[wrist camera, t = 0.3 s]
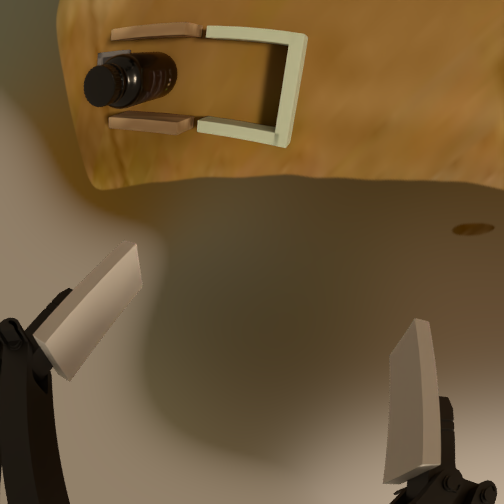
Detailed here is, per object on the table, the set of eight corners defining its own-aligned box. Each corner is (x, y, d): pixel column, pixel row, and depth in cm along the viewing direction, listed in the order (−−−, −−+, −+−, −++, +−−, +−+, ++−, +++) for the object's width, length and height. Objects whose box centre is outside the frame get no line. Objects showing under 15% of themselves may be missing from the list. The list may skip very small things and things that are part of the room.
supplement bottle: (132, 89, 36) (71, 105, 27) (146, 46, 32) (84, 49, 23) (169, 105, 36) (112, 124, 27) (187, 60, 32) (129, 63, 23)
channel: (132, 30, 31) (111, 29, 27) (202, 25, 29) (185, 22, 25) (128, 120, 39) (108, 128, 36) (193, 127, 37) (176, 135, 34)
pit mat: (100, 53, 34) (98, 53, 33) (130, 49, 33) (128, 49, 32) (99, 100, 38) (97, 101, 38) (128, 101, 37) (125, 101, 37)
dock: (217, 28, 29) (207, 25, 27) (308, 37, 27) (304, 34, 25) (206, 127, 37) (196, 131, 35) (290, 142, 35) (285, 148, 33)
